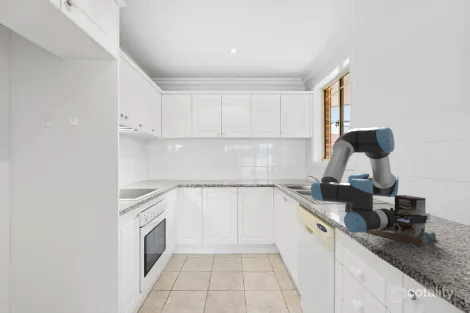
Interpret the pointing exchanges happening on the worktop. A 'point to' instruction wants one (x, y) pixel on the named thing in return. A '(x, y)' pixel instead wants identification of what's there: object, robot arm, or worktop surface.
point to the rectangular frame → (423, 239)
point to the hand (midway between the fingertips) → (416, 213)
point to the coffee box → (410, 207)
